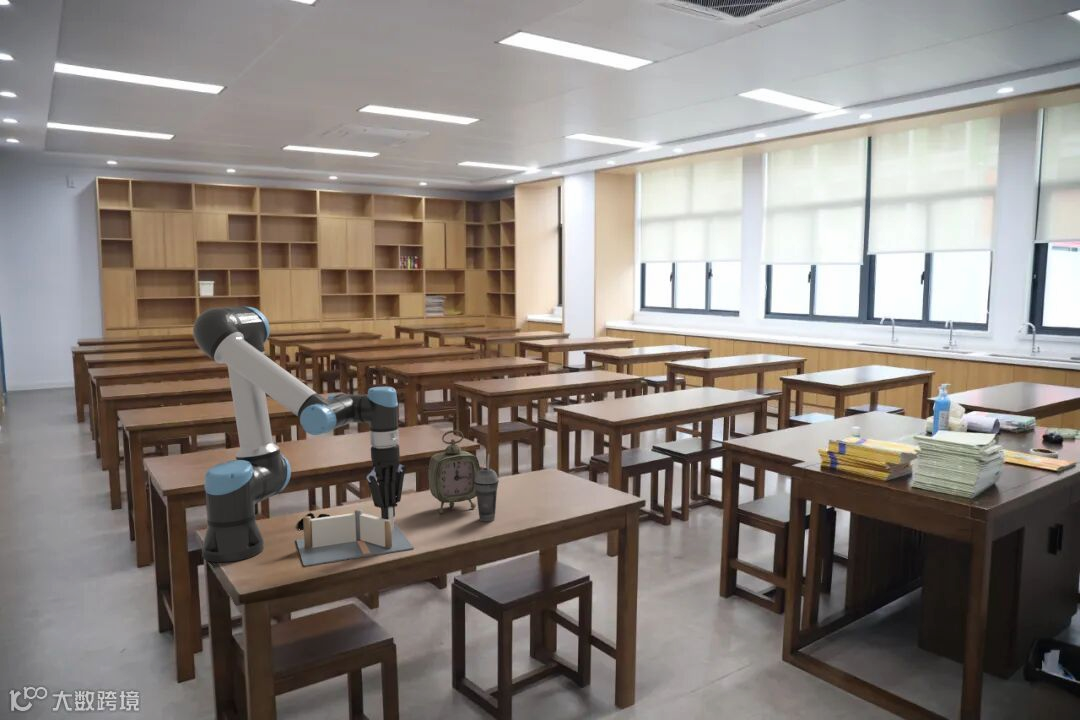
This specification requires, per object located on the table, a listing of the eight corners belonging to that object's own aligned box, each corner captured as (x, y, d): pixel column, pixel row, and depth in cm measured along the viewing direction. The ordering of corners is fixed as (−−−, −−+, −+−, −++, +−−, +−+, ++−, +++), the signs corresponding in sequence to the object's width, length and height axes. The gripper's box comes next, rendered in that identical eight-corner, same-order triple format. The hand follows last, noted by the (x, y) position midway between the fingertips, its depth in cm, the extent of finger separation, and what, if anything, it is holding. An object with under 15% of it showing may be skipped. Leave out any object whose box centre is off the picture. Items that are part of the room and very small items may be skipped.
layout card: (303, 566, 183) (303, 564, 183) (296, 540, 201) (296, 539, 201) (413, 549, 194) (413, 547, 194) (396, 526, 212) (396, 524, 212)
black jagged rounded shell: (334, 530, 211) (333, 513, 210) (298, 535, 207) (297, 518, 207) (329, 517, 222) (329, 502, 221) (295, 522, 218) (294, 506, 218)
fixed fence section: (305, 550, 194) (303, 519, 193) (304, 547, 196) (302, 516, 195) (363, 541, 200) (362, 511, 199) (362, 539, 202) (361, 509, 201)
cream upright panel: (360, 539, 199) (359, 515, 198) (365, 538, 200) (364, 513, 200) (388, 548, 192) (387, 522, 192) (393, 546, 194) (392, 520, 193)
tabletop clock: (436, 516, 220) (434, 435, 218) (427, 508, 228) (425, 430, 226) (481, 509, 227) (479, 430, 224) (470, 501, 235) (468, 425, 232)
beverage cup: (488, 513, 222) (487, 449, 220) (504, 519, 217) (503, 453, 215) (470, 519, 217) (468, 453, 215) (485, 525, 212) (484, 458, 210)
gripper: (375, 451, 187) (379, 540, 190) (412, 442, 197) (415, 526, 200) (356, 448, 191) (361, 534, 194) (393, 438, 201) (397, 520, 204)
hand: (388, 530), depth 197 cm, fingers closed
